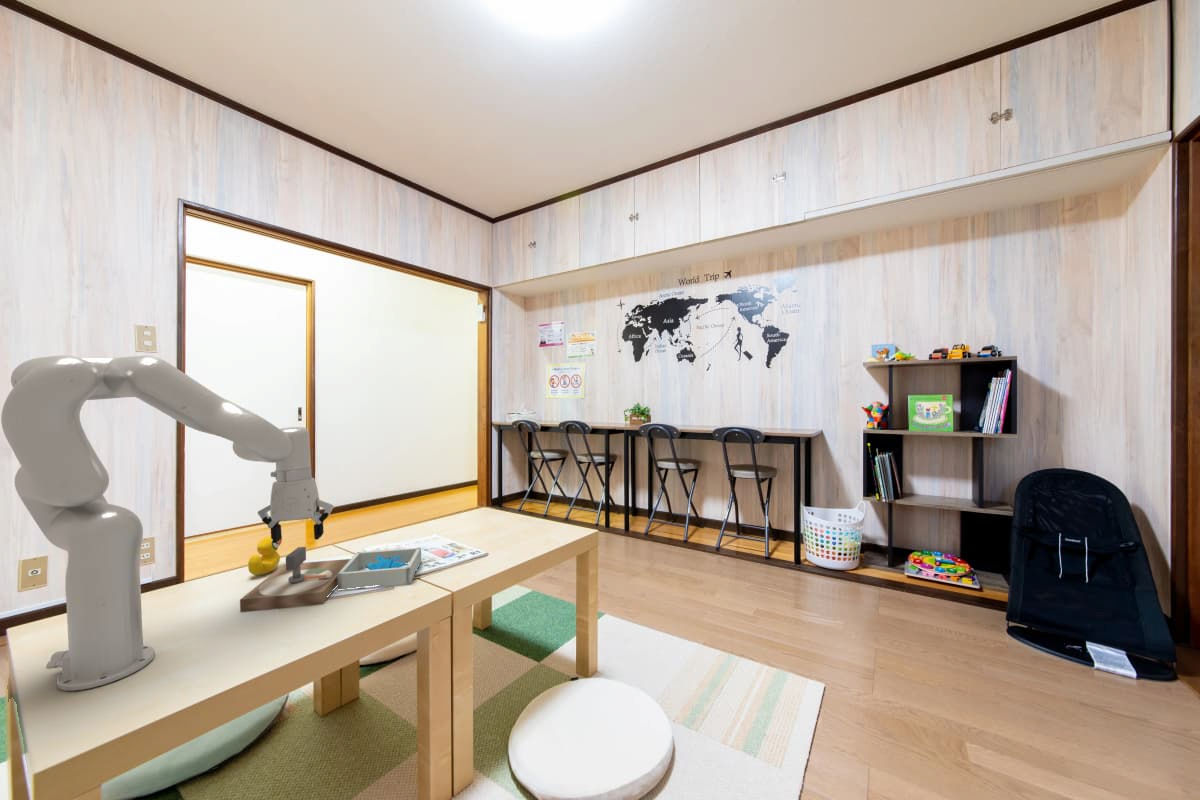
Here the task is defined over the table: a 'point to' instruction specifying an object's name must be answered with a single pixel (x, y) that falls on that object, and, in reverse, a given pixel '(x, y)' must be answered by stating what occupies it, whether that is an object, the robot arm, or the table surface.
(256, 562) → the duckling
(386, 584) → the toy tray
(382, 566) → the toy airplane
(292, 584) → the board
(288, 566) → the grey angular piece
